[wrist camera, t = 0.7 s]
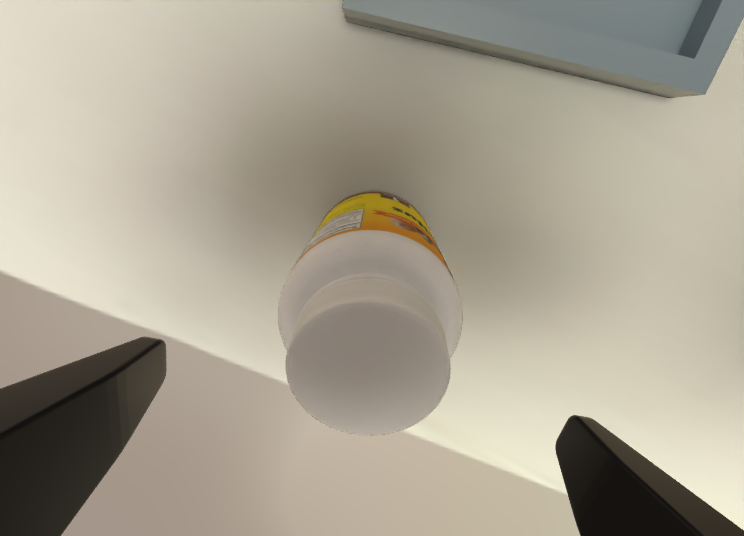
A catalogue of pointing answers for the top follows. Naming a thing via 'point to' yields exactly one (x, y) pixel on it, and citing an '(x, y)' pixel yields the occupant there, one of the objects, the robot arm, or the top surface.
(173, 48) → the top surface
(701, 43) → the tray
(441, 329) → the supplement bottle
